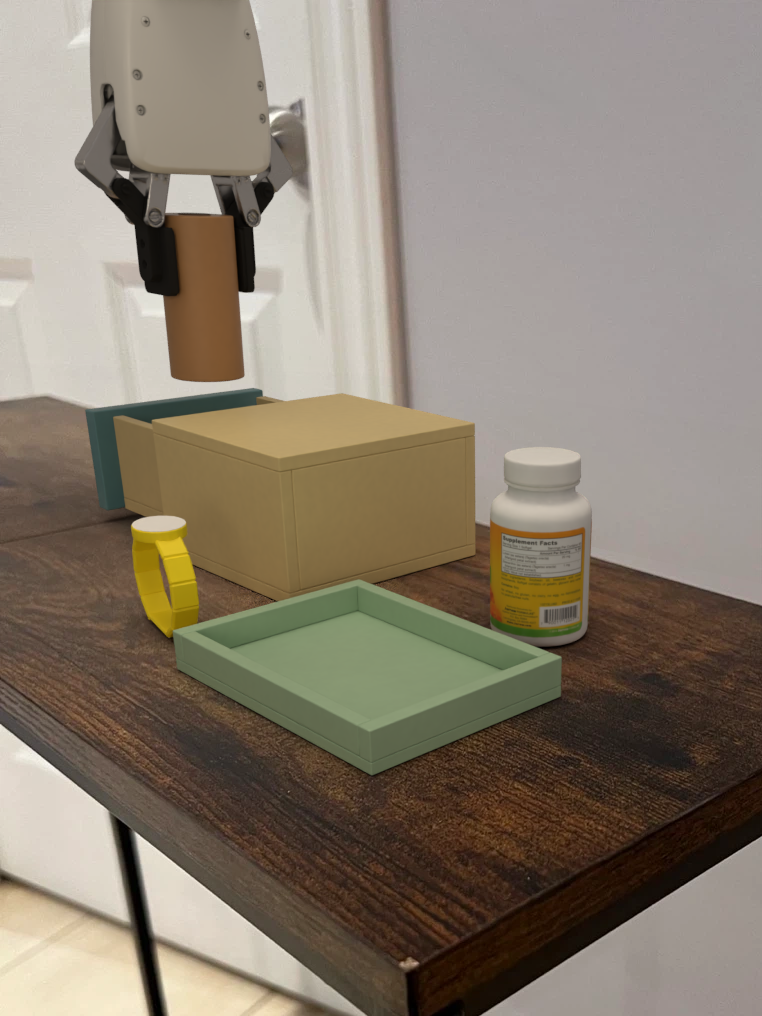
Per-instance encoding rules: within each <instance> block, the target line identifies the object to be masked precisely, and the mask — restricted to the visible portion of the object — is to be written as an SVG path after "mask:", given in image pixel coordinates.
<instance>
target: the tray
mask: <svg viewBox="0 0 762 1016" xmlns="http://www.w3.org/2000/svg"><path fill="white" fill-rule="evenodd" d="M172 638H173V645H174V651H175V652H174V653H175V662H176V669H177V670H178V671H180V672H181V673H184V674H186V675H188V676H190V678H193V679H195V680H197V681H199V682H201V683H202V684H204V685H206V686H208V687H209V688H211V689H213V690H215V691H217V692H219V693H221V694H222V695H224V696H226V697H227V698H229V699H231V700H233V701H234V702H237V703H239V704H240V705H242V706H244V707H246V708H248V709H250V710H251V711H253V712H255V713H257V714H259V715H260V716H262V717H264V718H266V719H267V720H270V721H271V722H273V723H275V724H277V725H278V726H280V727H282V728H284V729H286V730H288V731H290V732H291V733H293V734H295V735H297V736H299V737H300V738H302V739H304V740H306V741H308V742H310V743H312V744H313V745H315V746H317V747H319V748H321V749H323V750H325V751H326V752H328V753H330V754H332V755H333V756H336V757H337V758H339V759H341V760H342V761H344V762H346V763H348V764H349V765H351V766H353V767H354V768H355V767H356V768H357V769H359V770H361V771H363V772H364V773H366V774H367V775H370V776H374V775H377V774H379V773H382V772H384V771H386V770H389V769H391V768H393V767H396V766H398V765H401V764H403V763H405V762H408V761H410V760H412V759H415V758H418V757H420V756H422V755H425V754H427V753H429V752H431V751H434V750H437V749H439V748H441V747H444V746H446V745H449V744H451V743H453V742H455V741H458V740H460V739H463V738H465V737H467V736H469V735H472V734H474V733H477V732H480V731H482V730H484V729H487V728H489V727H492V726H494V725H497V724H498V723H501V722H504V721H505V720H508V719H510V718H513V717H516V716H517V715H520V714H522V713H524V712H527V711H530V710H532V709H535V708H537V707H539V706H542V705H544V704H546V703H549V702H551V701H553V700H556V699H558V698H560V697H562V669H563V668H562V667H563V665H562V664H563V662H562V661H563V657H562V656H561V655H558V654H555V653H553V652H549V651H547V650H545V649H542V648H540V647H535V646H532V645H529V644H527V643H524V642H521V641H519V640H516V639H514V638H511V637H508V636H506V635H503V634H501V633H498V632H495V631H493V630H492V629H490V628H487V627H485V626H482V625H480V624H477V623H474V622H472V621H470V620H466V619H464V618H461V617H459V616H457V615H454V614H451V613H448V612H446V611H443V610H440V609H438V608H435V607H433V606H430V605H427V604H425V603H422V602H420V601H418V600H414V599H411V598H409V597H406V596H404V595H401V594H399V593H397V592H393V591H391V590H389V589H386V588H383V587H380V586H378V585H376V584H374V583H373V584H370V583H367V582H365V581H362V580H360V579H358V580H355V581H351V582H347V583H344V584H340V585H336V586H333V587H329V588H325V589H322V590H318V591H315V592H311V593H307V594H304V595H300V596H296V597H293V598H289V599H285V600H282V601H275V602H271V603H267V604H264V605H260V606H257V607H253V608H249V609H246V610H242V611H239V612H235V613H232V614H228V615H224V616H223V615H222V616H220V617H216V618H212V619H208V620H206V621H202V622H198V623H197V624H194V625H191V626H187V627H183V628H180V629H176V630H173V637H172Z"/></svg>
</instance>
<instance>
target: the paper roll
mask: <svg viewBox="0 0 762 1016" xmlns="http://www.w3.org/2000/svg"><path fill="white" fill-rule="evenodd" d="M165 227H169V228H172V230H173V231H174V235H175V245H176V256H177V267H178V278H179V289H180V291H179V293H178V294H177V296H163V295H162V299H163V300H162V301H163V310H164V320H165V330H166V341H167V350H168V359H169V370H170V377H171V378H173V379H175V380H177V381H183V382H191V383H192V382H193V383H221V382H222V383H223V382H231V381H232V382H233V381H237V380H241V379H243V378H245V376H246V375H245V374H246V373H245V360H244V359H245V358H244V345H243V333H242V318H241V317H242V316H241V305H240V303H241V302H240V292H239V289H238V275H237V261H236V247H235V233H234V219H233V216H231V215H223V214H222V213H221V214H220V213H207V212H165Z"/></svg>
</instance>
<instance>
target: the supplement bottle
mask: <svg viewBox="0 0 762 1016" xmlns="http://www.w3.org/2000/svg"><path fill="white" fill-rule="evenodd" d="M581 479H582V456H581V455H580V453H578V451H577V452H576V451H574V450H571V449H567V448H562V447H552V446H551V447H550V446H531V447H521V448H515V449H512V450H509V451H507V452H505V454H504V457H503V482H504V484H505V485H506V486H507V490H504V491H503V492H501V493H499V494H498V495H497V496H496V497H494V499H493V500H492V502H491V505H490V509H489V510H490V513H489V619H490V620H489V621H490V623H489V624H490V628H491V629H490V630H493V631H495V632H498V633H501V634H503V635H506V636H508V637H511V638H514V639H516V640H519V641H521V642H524V643H527V644H529V645H532V646H535V647H537V648H540V647H541V648H542V647H543V648H548V647H549V648H550V647H557V646H564V645H567V644H571V643H574V642H575V641H577V640H579V639H581V638H582V637H584V635H585V634H586V632H587V630H588V625H589V611H590V609H589V608H590V606H589V603H590V582H591V581H590V577H591V557H592V556H591V553H592V531H593V530H592V529H593V528H592V527H593V510H592V505H591V503H590V501H589V500H588V498H586V497H585V496H584V494H582V493H580V492H578V491H576V487H578V486H579V485H580V484H581Z"/></svg>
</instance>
